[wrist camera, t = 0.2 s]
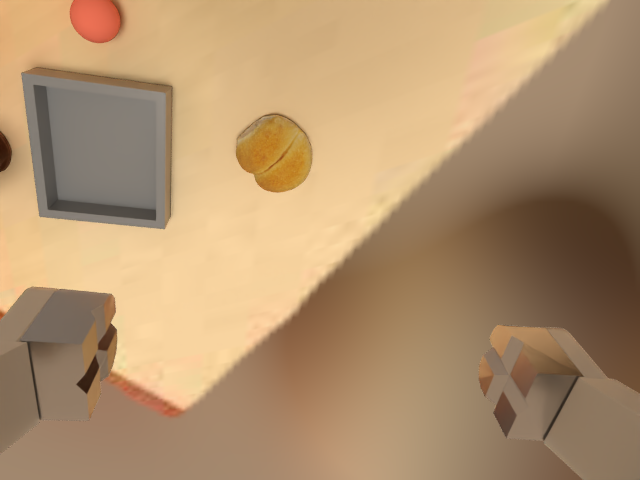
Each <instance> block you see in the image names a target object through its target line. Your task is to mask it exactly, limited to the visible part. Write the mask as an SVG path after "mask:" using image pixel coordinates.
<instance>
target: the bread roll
mask: <svg viewBox="0 0 640 480" xmlns="http://www.w3.org/2000/svg"><path fill="white" fill-rule="evenodd" d="M236 156H237V159H238V162H239V164H240V165H241V167H242V168H243V169H244V170H245V171H247V172H249V173H253V174H254V176H255V180H256V182H257V183H258V185H259V186H260V187H261V188H263V189H264V190H267V191H271V192H284V191H288V190H291V189H293V188H295V187H297V186H299V185H300V184H301V183H302V182H303V181H304V180H305V179H306V177H307V176H308V174H309V171H310V168H311V164H312V150H311V145H310V143H309V140H308V138H307V136H306V135H305V134H304V132H303V131H301V130H300V129H299V127H298V126H297V125H296V124H295V123H293V122H292V121H290V120H289V119H287V118H285V117H282V116H279V115H270V116H264V117H262V118H260V119H259V120H258V121H256V122H255V123H253V124H252V125H251V126H250V127H249V128H248V129H247V130H245V132H244V133H243V134H241V135H240V137H239V138H238V139H237V148H236Z"/></svg>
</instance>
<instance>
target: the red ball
mask: <svg viewBox="0 0 640 480" xmlns="http://www.w3.org/2000/svg"><path fill="white" fill-rule="evenodd" d="M70 19H71V22H72V25H73V27H74V28H75V30H76V31H77V32H78V33H79V34H80V35H81V36H82V37H83V38H85V39H86V40H89V41H91V42H95V43H104V42H108V41H110V40H112V39H113V38H114V37H115V36H116V35H117V33H118V31H119V28H120V16H119V13H118V11H117V9H116V7H115V5H114V4H113V3H112V2H111V1H110V0H74V1H73V3H72V5H71V8H70Z"/></svg>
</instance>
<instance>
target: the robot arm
mask: <svg viewBox="0 0 640 480" xmlns="http://www.w3.org/2000/svg"><path fill="white" fill-rule="evenodd" d="M115 313H116V307H115V298H114V296H113V295H112V294H107V293H97V292H86V291H76V290H66V289H55V288H43V287H31V288H28V289H26V290H25V291H24V292H23V293H22V295H21V296H20V297H19V298H18V300H17V301H16V302H15V303H14V304H13V306H12V307H11V308H10V309H9V310H8V312H7V313H6V314H5V315H4V316H3V318H2V319H1V320H0V454H1V453H3V452H4V451H5V450H6V449H7V448H9V447H10V446H11V445H13V444H14V443H15V442H16V441H18V440H19V439H20V438H21V437H23V436H24V435H25V434H26V433H28V432H29V431H30V430H31V429H33V428H34V427H35V426H36V425H37V424H39V423H40V420H71V421H89V420H90V418H91V416H92V413H93V411H94V409H95V406H96V404H97V402H98V400H99V397H100V395H101V383H100V382H101V381H102V380H104V379H105V378H107V377H108V376H109V374H110V371H111V369H112V366H113V363H114V359H115V355H116V349H117V329H116V328H115V327H114V326H113V325H112V324H111V321H112V319H113V317H114V315H115ZM489 340H490V342H491V344H492V348H491V349H490V350H488V351H487V352H486V353H484V354H483V356H482V359H481V362H480V365H479V383H480V387H481V389H482V391H483V394H484V396H485V397H486V398H487V399H489V400H490V401H491V402H493V403H494V404H495V405H496V406H495V409H494V412H493V413H494V415H495V417H496V419H497V421H498V423H499V425H500V427H501V429H502V431H503V433H504V435H505V437H506V438H509V439H523V440H538V441H544V444H545V445H546V446H547V447H549V448H550V449H551V450H552V451H553V452H554V453H555V454H556V455H557V456H558V457H559V458H560V459H561V460H562V461H564V462H565V463H566V464H567V465H568V466H569V467H570V468H571V469H572V470H573V471H574V472H575V473H576V474H578V475H579V476H580V477H581V478H582V479H583V480H640V394H639V393H637V392H636V391H634V390H632V389H630V388H628V387H627V386H625V385H624V384H622V383H620V382H618V381H617V380H615V379H608V378H607V377H606V376H605V374H604V373H603V372H602V371H601V370H600V368H599V367H598V366H597V365H596V364H595V363H594V361H593V360H592V359H591V358H590V357H589V355H588V354H587V353H586V352H585V351H584V349H582V347H581V346H580V345H579V344H578V342H577V341H575V339H574V338H573V337H572V335H571V334H570V333H569V332H568V331H566V330H564V329H563V328H550V327H540V328H538V327H523V326H508V325H497V327H496V328H495V329H494V330H493V332H492V334H491V337H490V339H489Z"/></svg>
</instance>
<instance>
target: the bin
mask: <svg viewBox="0 0 640 480" xmlns="http://www.w3.org/2000/svg"><path fill="white" fill-rule="evenodd" d="M21 75H22V83H23V91H24V98H25V106H26V114H27V122H28V130H29V138H30V146H31V154H32V162H33V169H34V177H35V185H36V193H37V201H38V209H39V217H47V218H57V219H68V220H78V221H88V222H98V223H108V224H118V225H128V226H138V227H148V228H158V229H165V228H166V225H167V223H168V221H169V219H170V217H171V141H172V86H165V85H158V84H150V83H143V82H136V81H129V80H122V79H115V78H108V77H101V76H94V75H87V74H80V73H73V72H66V71H58V70H51V69H44V68H37V67H36V68H34V69H31V70H28V71H25V72H22V73H21Z"/></svg>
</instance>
